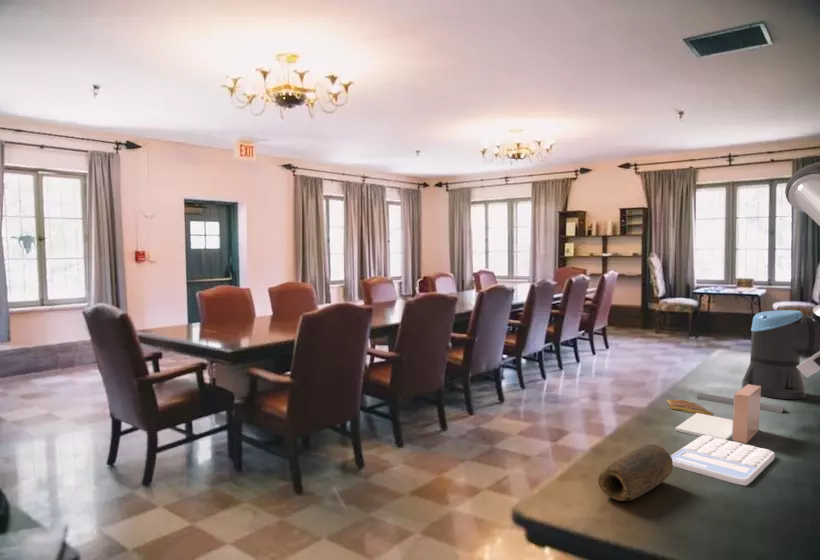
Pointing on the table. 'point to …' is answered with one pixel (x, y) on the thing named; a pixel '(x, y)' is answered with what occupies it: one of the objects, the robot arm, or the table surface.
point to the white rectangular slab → (707, 426)
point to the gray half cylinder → (731, 402)
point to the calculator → (723, 459)
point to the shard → (688, 407)
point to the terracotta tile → (746, 413)
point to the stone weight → (636, 472)
